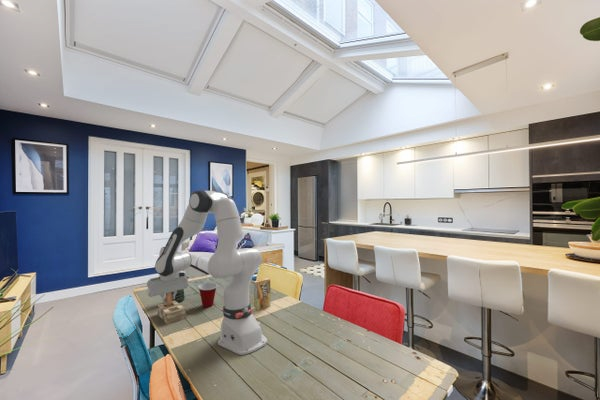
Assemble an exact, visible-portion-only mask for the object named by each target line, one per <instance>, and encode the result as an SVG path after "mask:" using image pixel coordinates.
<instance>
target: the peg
mask: <svg viewBox="0 0 600 400" xmlns="http://www.w3.org/2000/svg"><path fill="white" fill-rule="evenodd" d="M165 297H166V301H165V303H166V307H169V306H172V292H169V293H165Z"/></svg>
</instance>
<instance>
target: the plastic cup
mask: <svg viewBox="0 0 600 400" xmlns="http://www.w3.org/2000/svg"><path fill="white" fill-rule="evenodd" d="M197 288H198V290H199V294H200V300H201V305H202V307H203V308H210V307H213V306H214V301H215V296H216V290H217V288H218V284H217V283H216V282H204V283H201V284H199V285H198V286H197Z"/></svg>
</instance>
